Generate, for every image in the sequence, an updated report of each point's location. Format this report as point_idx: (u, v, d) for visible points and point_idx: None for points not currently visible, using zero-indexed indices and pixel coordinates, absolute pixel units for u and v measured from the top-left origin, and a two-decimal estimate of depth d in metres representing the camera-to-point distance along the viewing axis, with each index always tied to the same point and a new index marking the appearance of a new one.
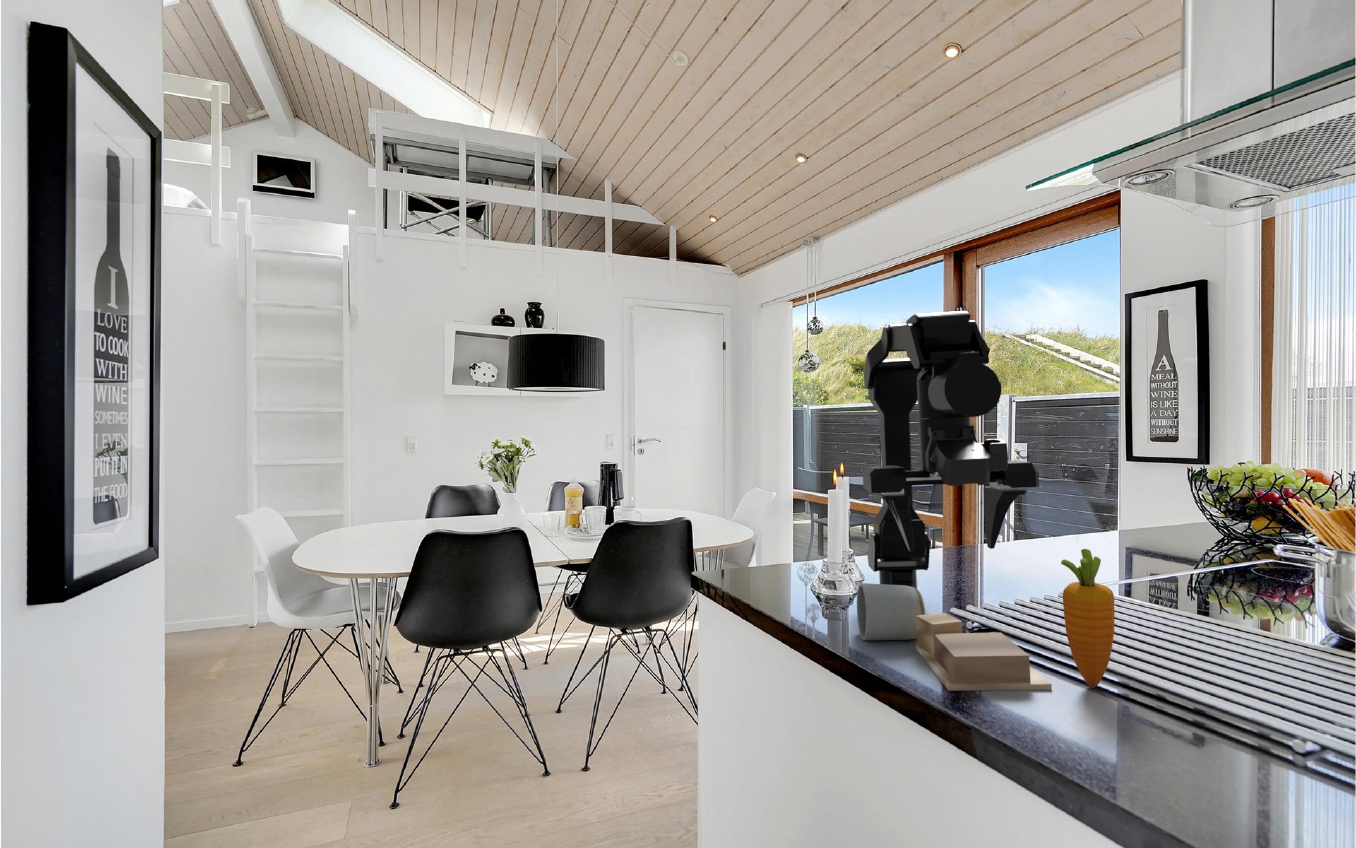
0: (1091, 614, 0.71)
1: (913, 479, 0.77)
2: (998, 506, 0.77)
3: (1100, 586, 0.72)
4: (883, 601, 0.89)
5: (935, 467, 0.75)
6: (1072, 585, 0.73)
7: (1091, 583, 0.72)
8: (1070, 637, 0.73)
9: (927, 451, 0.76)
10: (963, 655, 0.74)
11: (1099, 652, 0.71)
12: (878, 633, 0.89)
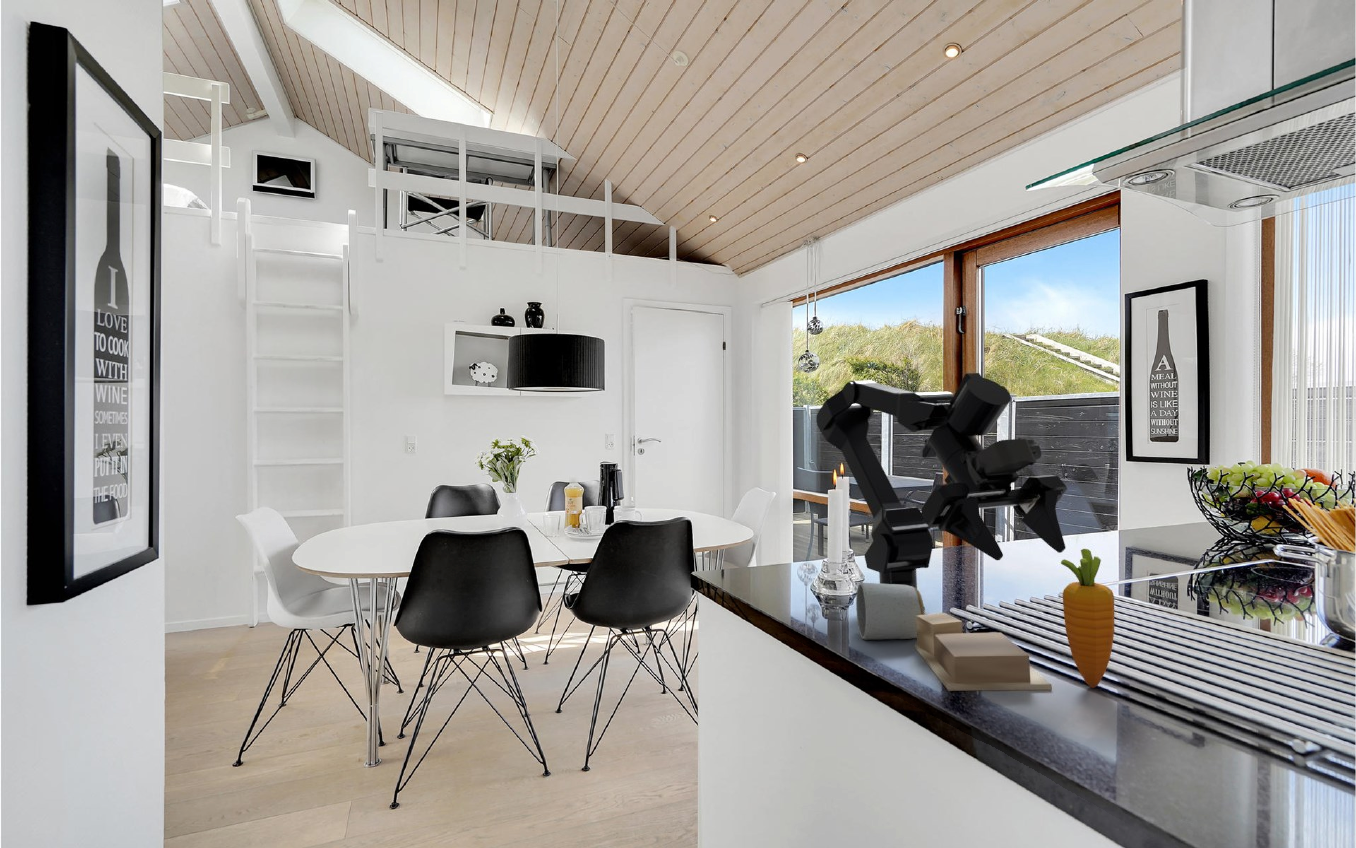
0: (1091, 614, 0.71)
1: (970, 492, 0.84)
2: (1047, 510, 0.84)
3: (1100, 586, 0.72)
4: (882, 600, 0.90)
5: (985, 471, 0.84)
6: (1072, 585, 0.73)
7: (1091, 583, 0.72)
8: (1070, 637, 0.73)
9: (970, 467, 0.85)
10: (963, 655, 0.74)
11: (1099, 652, 0.71)
12: (877, 632, 0.90)
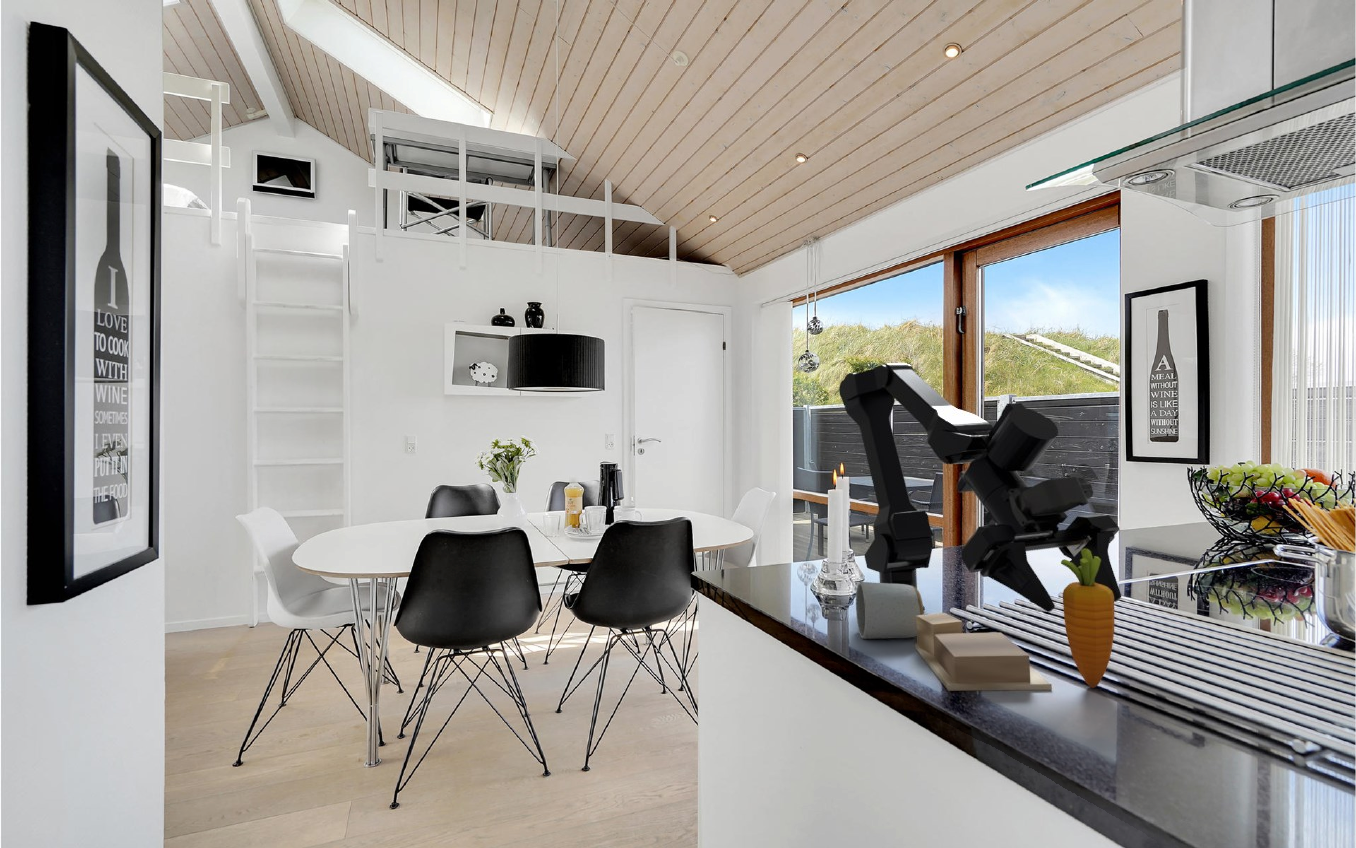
0: (1091, 614, 0.71)
1: (1016, 535, 0.77)
2: (1099, 553, 0.77)
3: (1100, 586, 0.72)
4: (882, 600, 0.90)
5: (1032, 512, 0.77)
6: (1072, 585, 0.73)
7: (1091, 583, 0.72)
8: (1070, 637, 0.73)
9: (1014, 506, 0.79)
10: (963, 655, 0.74)
11: (1099, 652, 0.71)
12: (877, 631, 0.90)
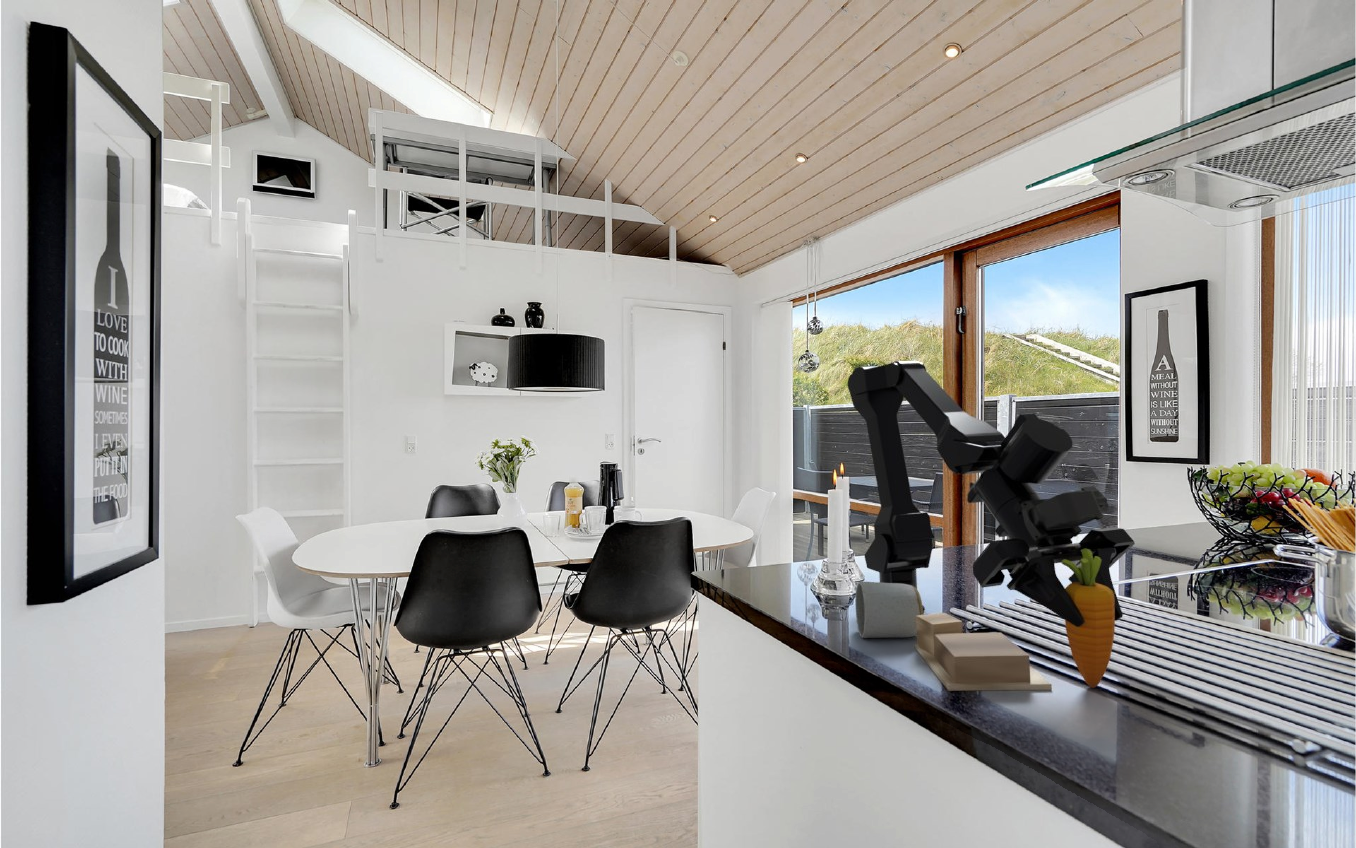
0: (1091, 614, 0.71)
1: (1029, 550, 0.75)
2: (1100, 571, 0.75)
3: (1100, 586, 0.72)
4: (881, 599, 0.90)
5: (1045, 526, 0.75)
6: (1072, 585, 0.73)
7: (1091, 583, 0.72)
8: (1070, 637, 0.73)
9: (1027, 520, 0.77)
10: (963, 655, 0.74)
11: (1099, 651, 0.71)
12: (876, 631, 0.90)
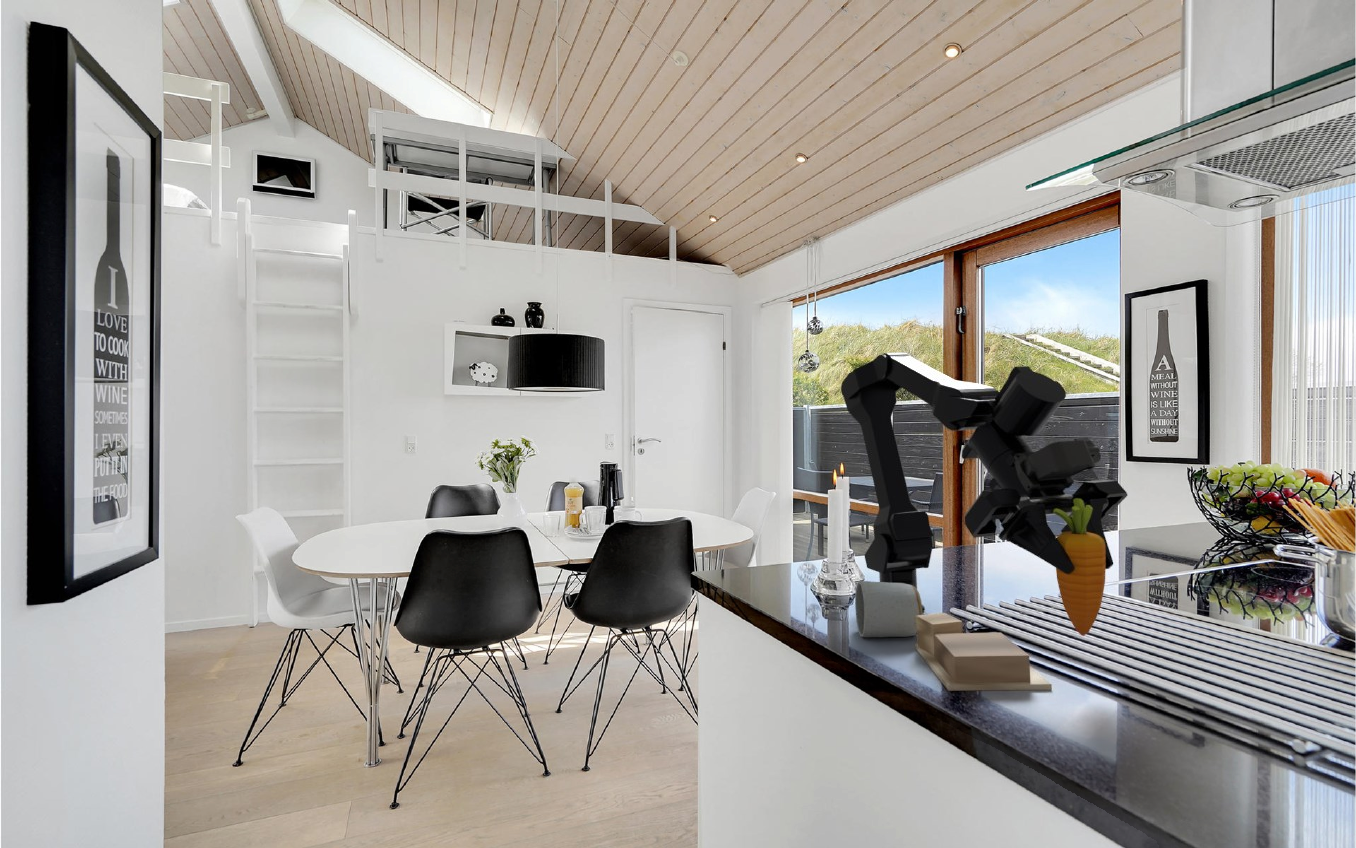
0: (1082, 561, 0.71)
1: None
2: (1092, 520, 0.75)
3: (1091, 534, 0.72)
4: (881, 598, 0.90)
5: (1037, 476, 0.75)
6: (1064, 534, 0.73)
7: (1083, 531, 0.72)
8: (1061, 585, 0.73)
9: (1020, 471, 0.77)
10: (963, 655, 0.74)
11: (1089, 598, 0.71)
12: (876, 630, 0.91)
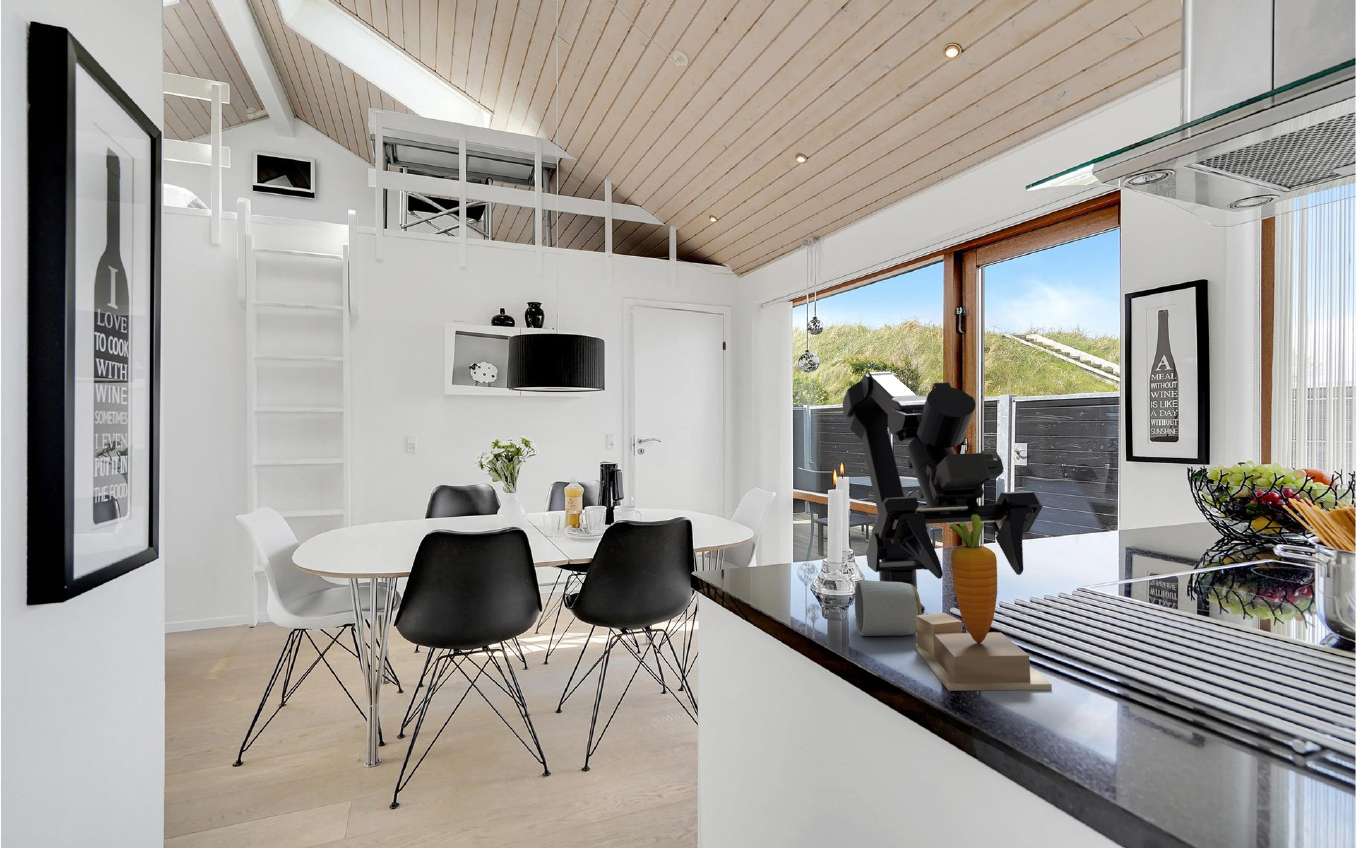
0: (968, 573, 0.76)
1: (924, 507, 0.81)
2: (1012, 528, 0.79)
3: (981, 548, 0.77)
4: (880, 597, 0.91)
5: (940, 486, 0.81)
6: (958, 547, 0.79)
7: (973, 545, 0.77)
8: (956, 595, 0.79)
9: (930, 481, 0.83)
10: (963, 655, 0.74)
11: (976, 608, 0.76)
12: (875, 629, 0.91)
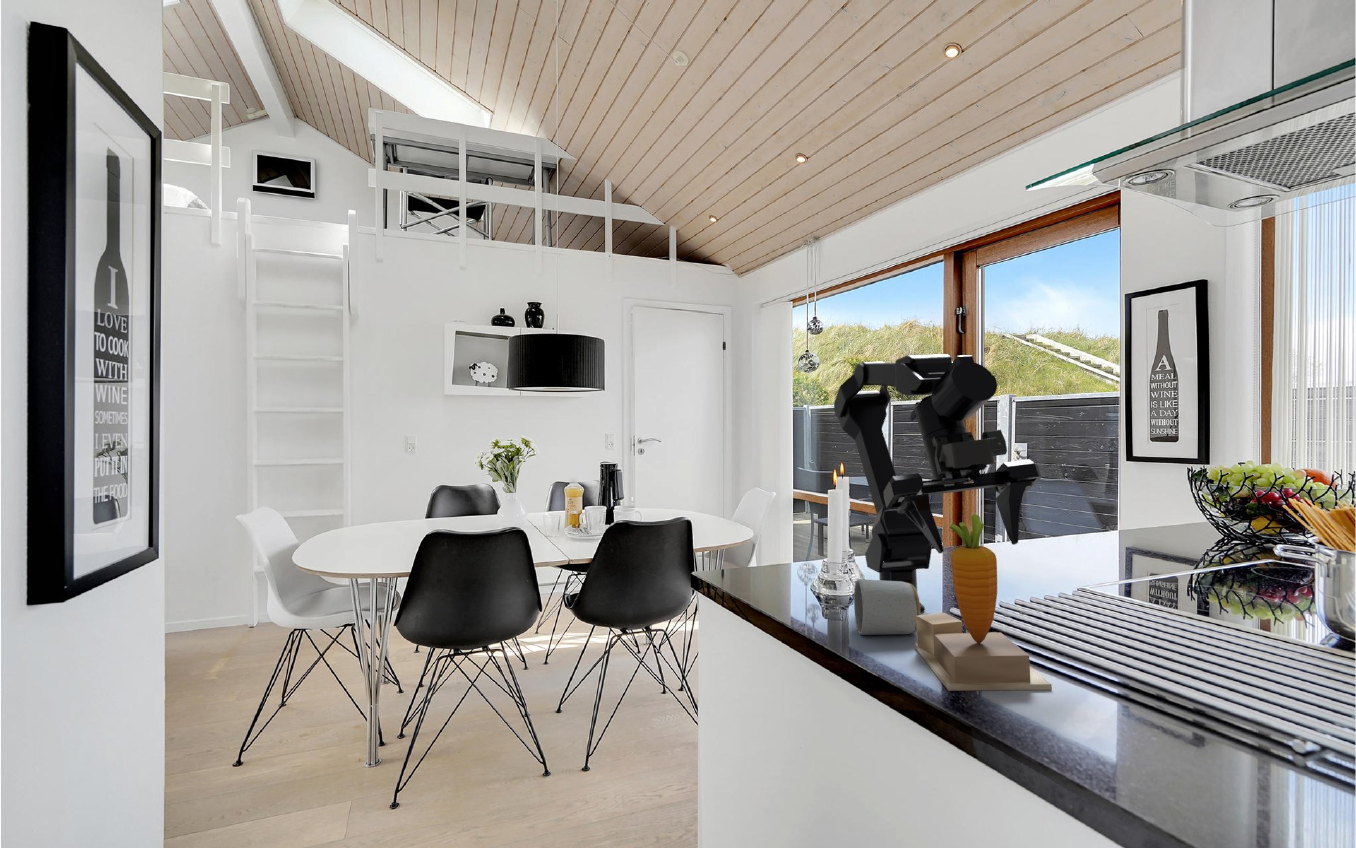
0: (968, 574, 0.76)
1: (929, 483, 0.86)
2: (1011, 501, 0.84)
3: (981, 548, 0.77)
4: (879, 596, 0.92)
5: (945, 465, 0.84)
6: (958, 547, 0.79)
7: (973, 546, 0.77)
8: (956, 595, 0.79)
9: (935, 456, 0.86)
10: (963, 655, 0.74)
11: (976, 609, 0.76)
12: (874, 628, 0.92)
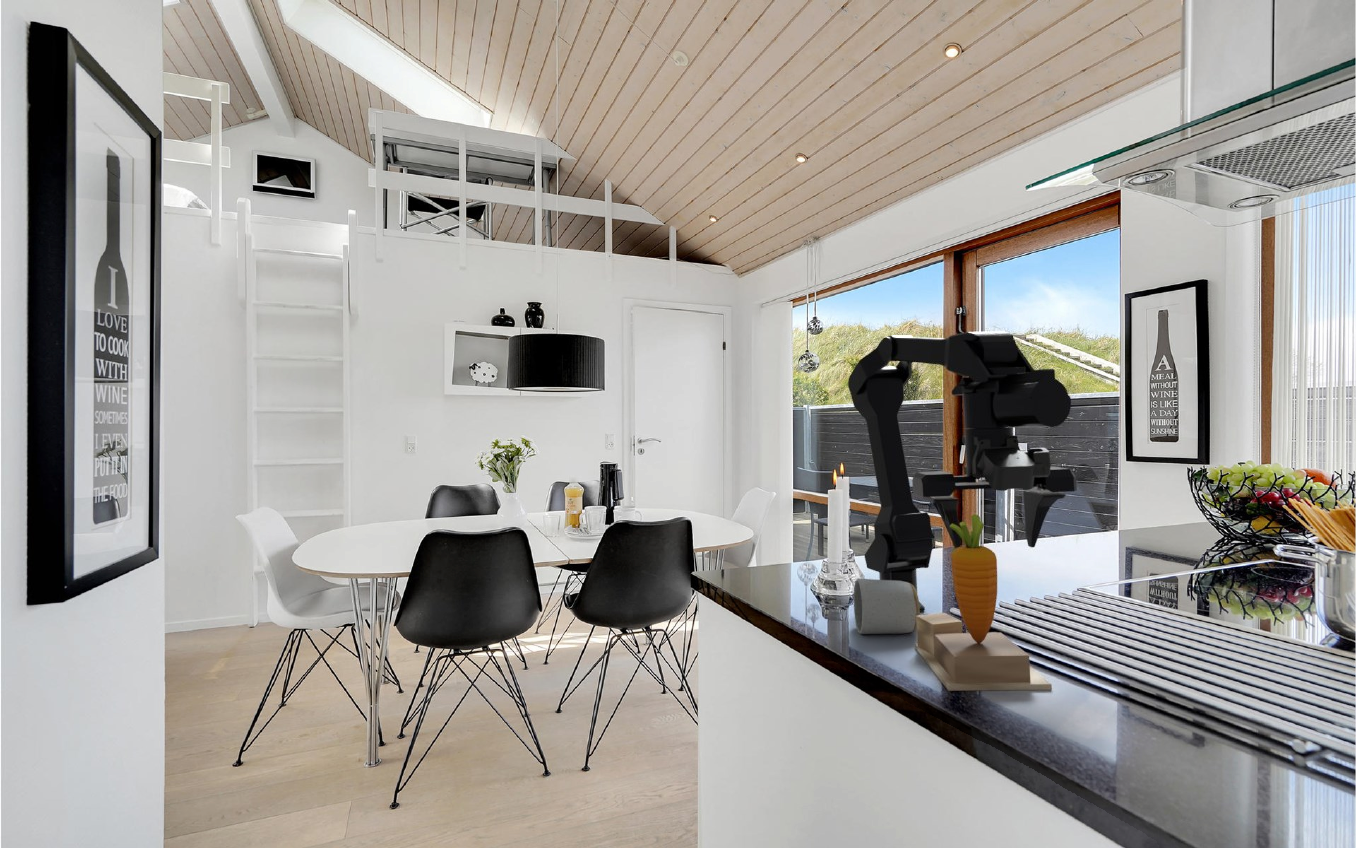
0: (968, 573, 0.76)
1: (961, 484, 0.85)
2: (1039, 508, 0.84)
3: (981, 548, 0.77)
4: (879, 596, 0.92)
5: (982, 473, 0.82)
6: (958, 547, 0.79)
7: (973, 545, 0.77)
8: (956, 595, 0.79)
9: (974, 459, 0.84)
10: (963, 655, 0.74)
11: (976, 608, 0.76)
12: (874, 627, 0.92)
